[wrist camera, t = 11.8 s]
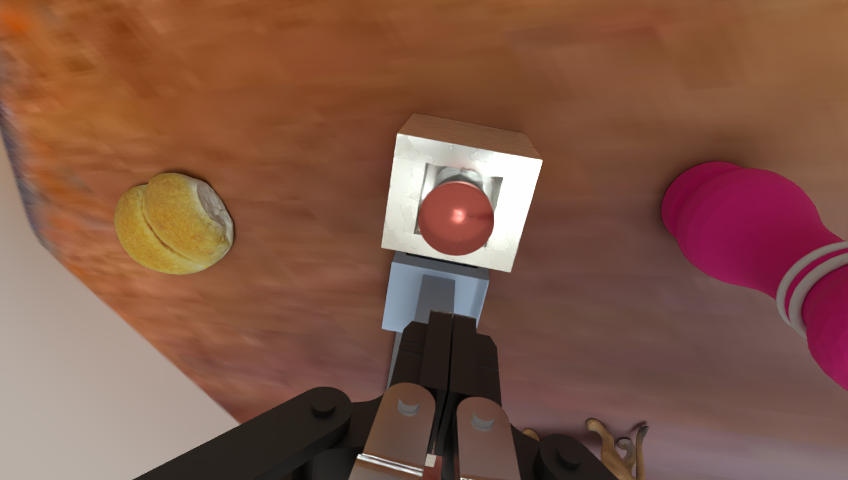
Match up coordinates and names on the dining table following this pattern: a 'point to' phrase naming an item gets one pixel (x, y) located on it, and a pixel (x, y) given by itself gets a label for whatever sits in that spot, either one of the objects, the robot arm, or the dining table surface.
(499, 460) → the robot arm
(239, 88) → the dining table surface
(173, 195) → the bread roll
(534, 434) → the lion figurine
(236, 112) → the dining table surface
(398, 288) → the carriage
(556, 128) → the dining table surface
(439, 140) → the rail station
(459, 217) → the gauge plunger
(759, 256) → the pepper mill
